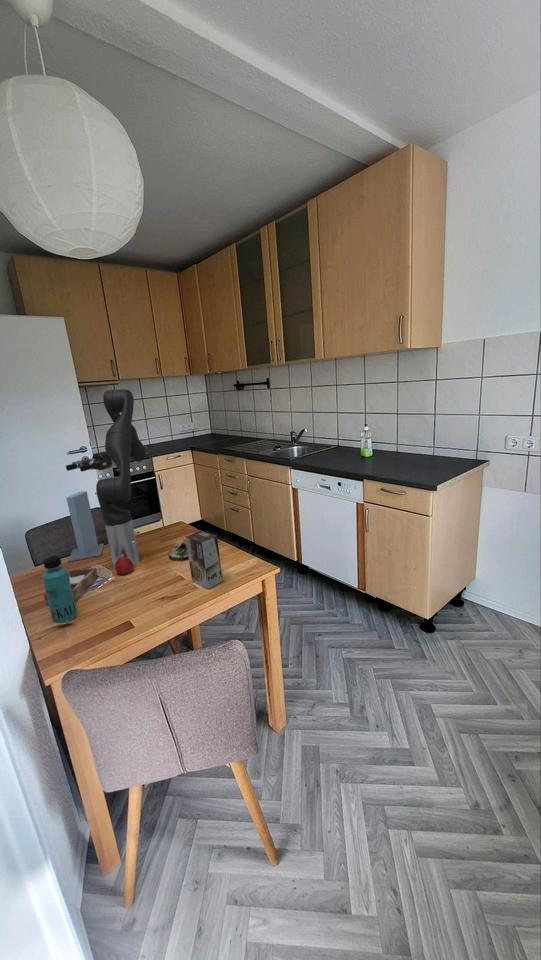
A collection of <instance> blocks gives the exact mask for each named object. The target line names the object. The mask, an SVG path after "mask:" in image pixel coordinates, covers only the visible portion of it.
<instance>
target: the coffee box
mask: <svg viewBox="0 0 541 960" xmlns="http://www.w3.org/2000/svg"><path fill="white" fill-rule="evenodd" d="M184 538H185V539H184V540H185V544H186V545H187V551H188V557H187V558H188V563H189V570H190V574H191V582H193V583H195V584H197V585H199V586H201V587H203V588H206V589H207V588H208V589H207V590H209V588H210V589H211V588H214V587H215V586H217V585H218V583H219V584H220V582H221V583H223V581H224V580H223V573H222V564H221V556H220V550H219V549H220V548H219V540H218V535H216V534H212V533H209V532H206V531H203V530H198V531H195V532H192V533H191V534H189V535H186V536H185V537H184ZM216 584H217V585H216Z"/></svg>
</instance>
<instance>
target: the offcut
mask: <svg viewBox="0 0 541 960" xmlns="http://www.w3.org/2000/svg"><path fill="white" fill-rule="evenodd" d="M84 577H85V575H81V576H77V577H73V578H71V577H69V580H70V584H71V583H79V582H80V581H81V580H82V579H83V578H84Z"/></svg>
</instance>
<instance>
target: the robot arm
mask: <svg viewBox="0 0 541 960" xmlns="http://www.w3.org/2000/svg"><path fill="white" fill-rule="evenodd" d="M102 396H103V397H102V398H103V399H102V401H103V405H104V408H105V410H106V412H107V414H108V415H109V418H110V419H111V421H112V422H113V423H112V424H111V426H110V427H109V429H108V430H107V431H106V435H105V442H104V449H105V450H103V451H100V452H95V453H94V454H93V455H92V457H91V458H87V459H82V460H77V461H73V462H72V463H70V464H67V465H65V469H66V471H72V470H73V471H74V470H77V469H78V470H79V469H80V472H86V471H90V470H92V471H93V470H96V471H104V470H107V469H111V468H114V467H117V469H118V471H119V476H118V477H110V478H109V477H108V478H100V479H98V481H97V482H96V485H95V488H96V491H95V492H96V496H97V501H98V503H99V507H100V511H101V516H102V518H103V523H104V528H105V532H106V537H107V541H108V546H109V552H110V556H111V560H112V561H111V562H112V566H113V567H114V568H115V564H116V561H117V560H118V559H119V558H120V557H121V555H123V554H124V556H125V557H128V558H129V559H131V561H132V563H133V565H134V564H138V563H140V553H139V548H138V543H137V536H136V534H135V529H134V523H133V518H132V513H131V511H130V510H127V509H124V508H121V507H120V508H119V507H118V506H116V505H117V504H125V503H128V502H129V501H130V499H131V496H132V483H131V482H132V481H131V460H133V461H134V462H137V463H141V462H143V461H144V460H145V458H146V457H147V451H146V448H145V446H144V445H143V443H142V442H141V440H140V439H139V435H138V432H137V430H136V427H135V426H134V425H133V423H132V422H133V414H134V406H135V405H134V404H135V401H134V399H135V398H134V395H133V392H132V391H131V390H130V389H128V388H127V389H123V388H122V389H109V390H105V391H104V392H103V395H102Z"/></svg>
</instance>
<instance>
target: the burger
mask: <svg viewBox="0 0 541 960" xmlns="http://www.w3.org/2000/svg"><path fill="white" fill-rule="evenodd" d="M175 539H176V542H175V543H174V545H173V546H174V547H172V548H170V549H169V551H167V554H168V559H169V560H171V561H173V562H183V561H184V559H185V558H188V551H187V545H186V542H184V541H185V539H178V540H177V538H175Z"/></svg>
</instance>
